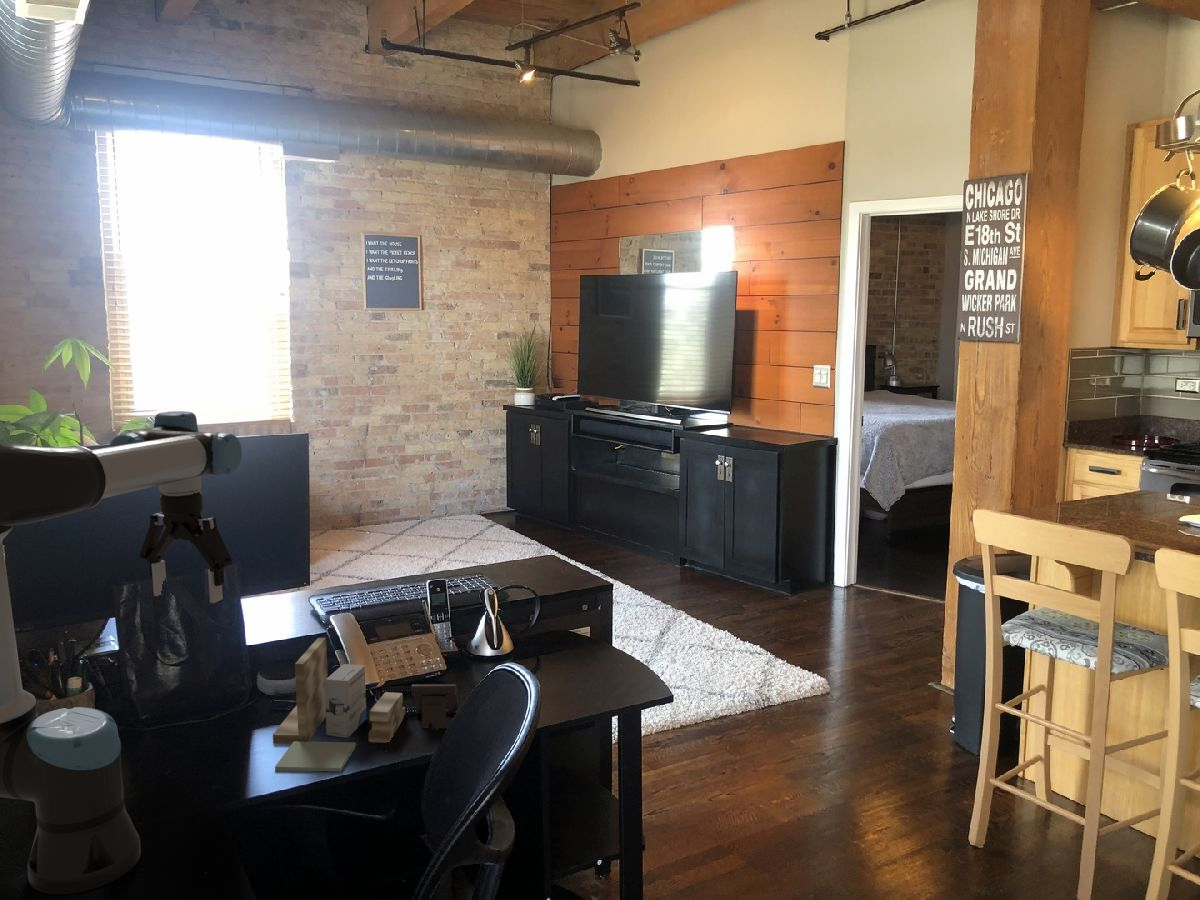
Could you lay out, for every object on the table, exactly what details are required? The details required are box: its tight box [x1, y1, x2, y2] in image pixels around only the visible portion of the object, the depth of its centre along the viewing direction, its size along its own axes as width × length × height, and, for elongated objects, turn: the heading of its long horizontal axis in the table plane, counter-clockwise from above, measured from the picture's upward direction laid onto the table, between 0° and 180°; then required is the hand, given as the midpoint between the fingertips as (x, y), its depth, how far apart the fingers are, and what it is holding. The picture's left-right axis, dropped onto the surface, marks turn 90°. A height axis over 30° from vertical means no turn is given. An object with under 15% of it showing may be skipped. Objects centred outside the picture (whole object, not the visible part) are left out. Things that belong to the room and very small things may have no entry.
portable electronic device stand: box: [410, 683, 460, 729], centre depth 198 cm, size 9×8×8 cm
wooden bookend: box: [272, 637, 329, 744], centre depth 194 cm, size 14×7×16 cm, turn 178°
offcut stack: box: [368, 691, 406, 743], centre depth 194 cm, size 12×4×6 cm, turn 177°
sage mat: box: [274, 741, 357, 773], centre depth 182 cm, size 10×12×1 cm
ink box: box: [325, 663, 367, 739], centre depth 194 cm, size 9×5×12 cm, turn 168°
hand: (188, 597), depth 192 cm, fingers open, 13 cm apart
